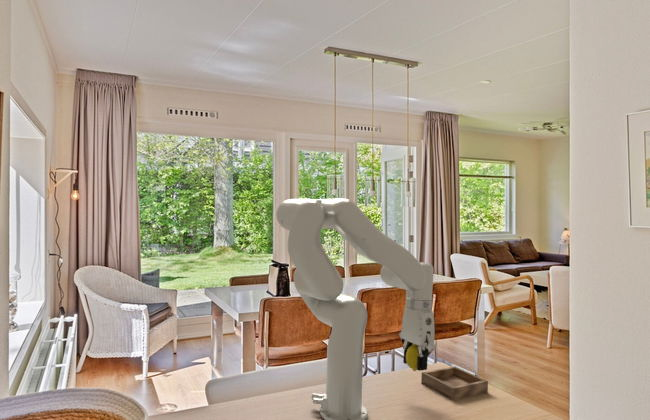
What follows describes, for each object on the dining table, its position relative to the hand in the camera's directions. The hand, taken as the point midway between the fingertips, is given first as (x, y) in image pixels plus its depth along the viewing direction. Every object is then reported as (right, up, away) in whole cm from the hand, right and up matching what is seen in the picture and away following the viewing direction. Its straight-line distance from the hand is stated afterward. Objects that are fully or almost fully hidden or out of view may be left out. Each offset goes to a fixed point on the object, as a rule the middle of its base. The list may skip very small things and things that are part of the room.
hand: (414, 365), depth 131 cm
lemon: (0, -2, 0) cm, 2 cm away
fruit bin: (+14, -10, +8) cm, 18 cm away
